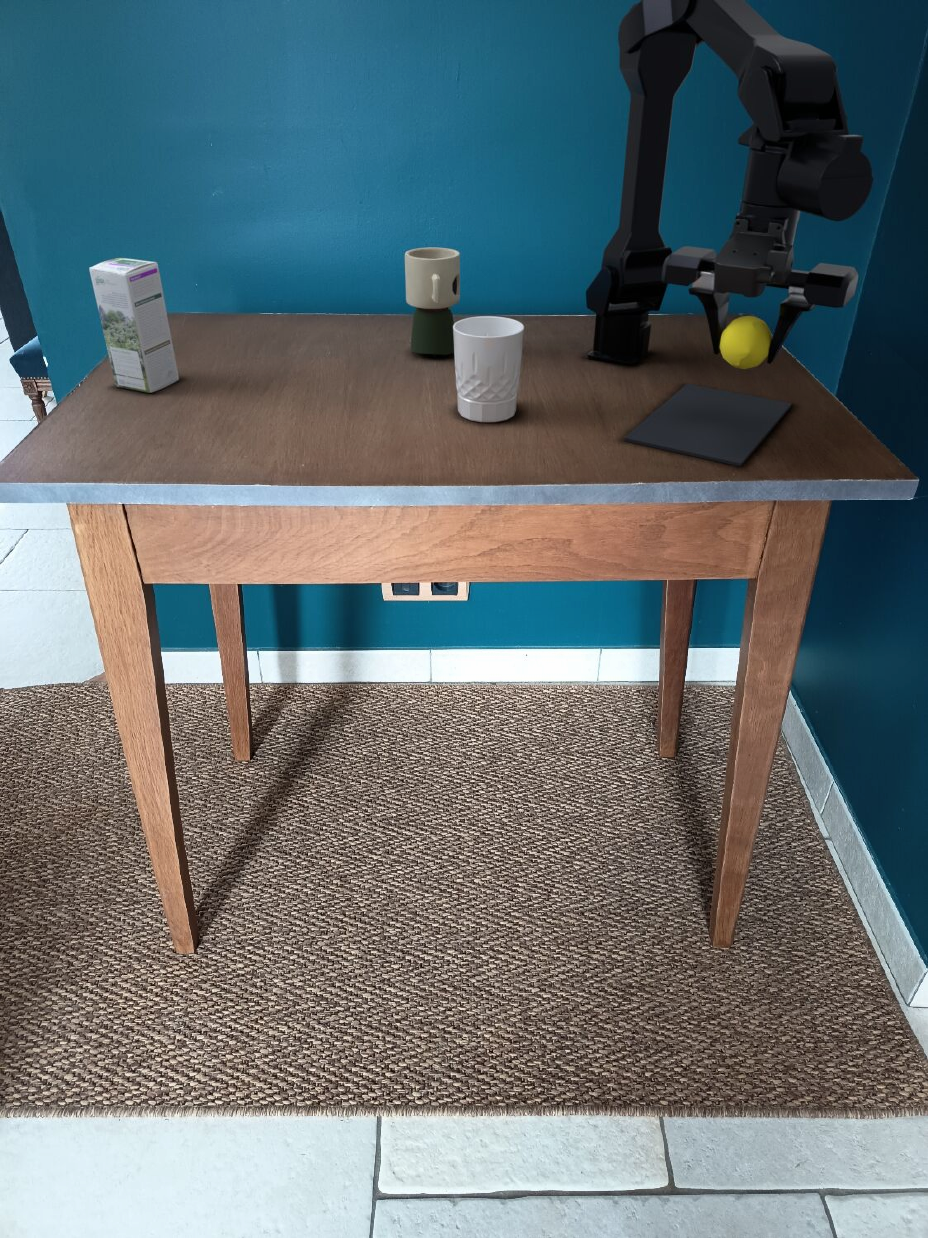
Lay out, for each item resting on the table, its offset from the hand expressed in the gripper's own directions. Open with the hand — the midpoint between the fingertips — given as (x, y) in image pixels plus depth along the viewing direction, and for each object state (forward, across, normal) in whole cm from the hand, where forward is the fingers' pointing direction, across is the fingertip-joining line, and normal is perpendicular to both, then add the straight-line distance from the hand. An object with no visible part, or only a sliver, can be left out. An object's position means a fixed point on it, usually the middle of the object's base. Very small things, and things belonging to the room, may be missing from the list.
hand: (743, 357), depth 99 cm
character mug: (+8, -43, +5) cm, 44 cm away
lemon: (+1, 0, 0) cm, 1 cm away
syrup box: (+8, -67, -24) cm, 72 cm away
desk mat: (+8, -2, 0) cm, 8 cm away
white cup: (+8, -26, -10) cm, 29 cm away
